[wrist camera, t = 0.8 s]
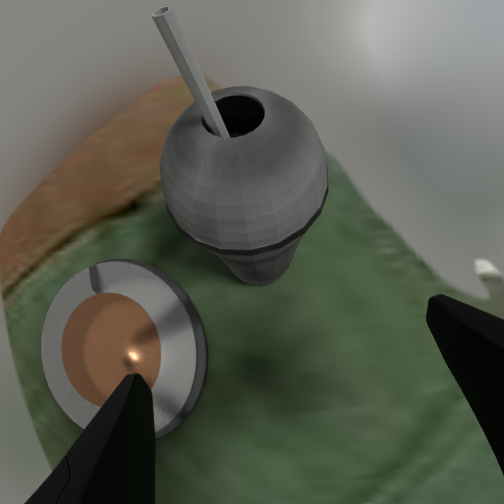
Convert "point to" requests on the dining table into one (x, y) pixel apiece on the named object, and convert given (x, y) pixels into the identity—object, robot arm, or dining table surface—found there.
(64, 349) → the disc
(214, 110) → the beverage cup
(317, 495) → the dining table surface
